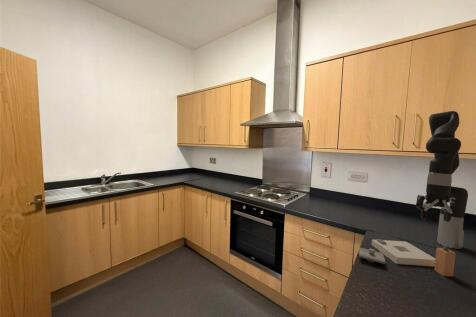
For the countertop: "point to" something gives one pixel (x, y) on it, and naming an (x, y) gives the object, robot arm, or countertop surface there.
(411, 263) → the socket
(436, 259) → the plug
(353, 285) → the countertop surface
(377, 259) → the light switch
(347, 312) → the countertop surface
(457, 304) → the countertop surface
